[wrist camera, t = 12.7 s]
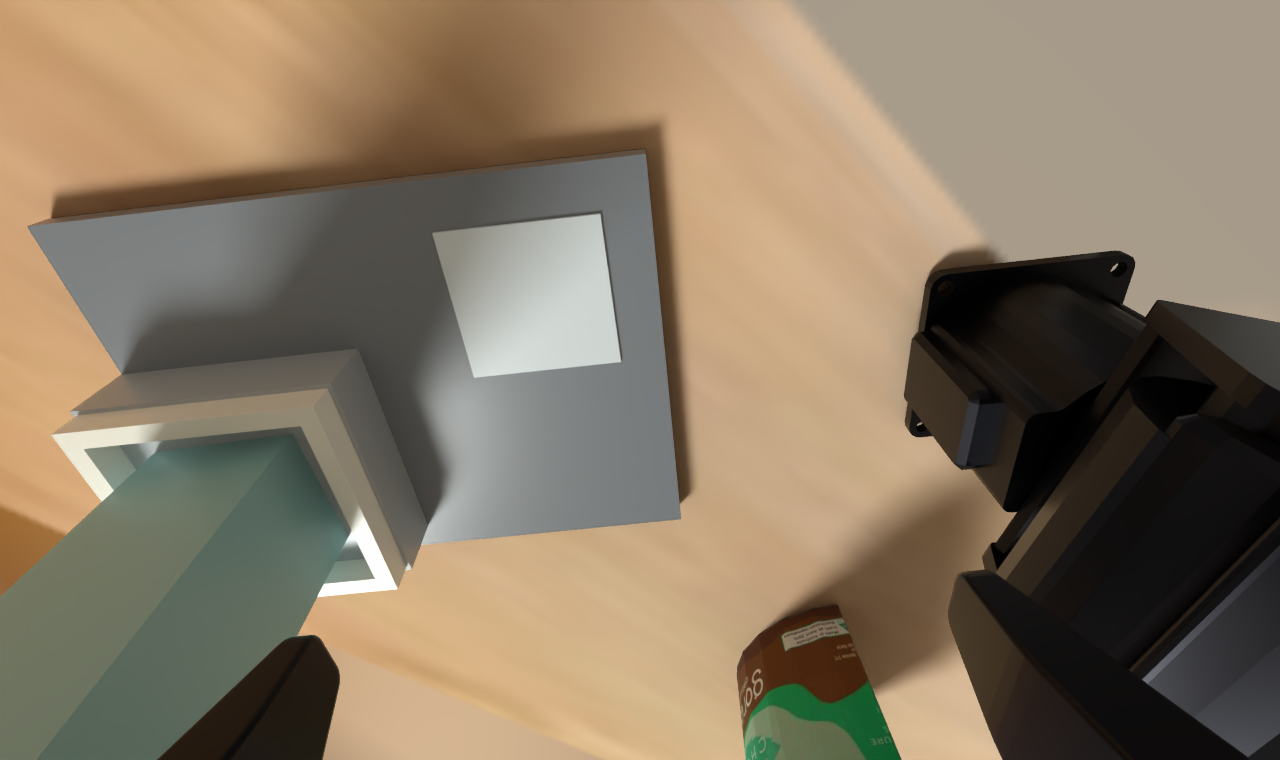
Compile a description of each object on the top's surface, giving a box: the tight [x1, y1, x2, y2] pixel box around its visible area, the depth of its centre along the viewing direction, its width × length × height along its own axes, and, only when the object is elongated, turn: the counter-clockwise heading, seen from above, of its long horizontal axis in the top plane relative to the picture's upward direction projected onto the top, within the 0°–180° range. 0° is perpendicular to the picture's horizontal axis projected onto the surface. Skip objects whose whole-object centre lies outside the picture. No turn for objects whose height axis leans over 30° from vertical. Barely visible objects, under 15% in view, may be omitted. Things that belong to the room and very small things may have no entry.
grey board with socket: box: [27, 149, 681, 597], centre depth 20 cm, size 18×14×4 cm
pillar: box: [0, 434, 349, 760], centre depth 14 cm, size 4×4×14 cm
